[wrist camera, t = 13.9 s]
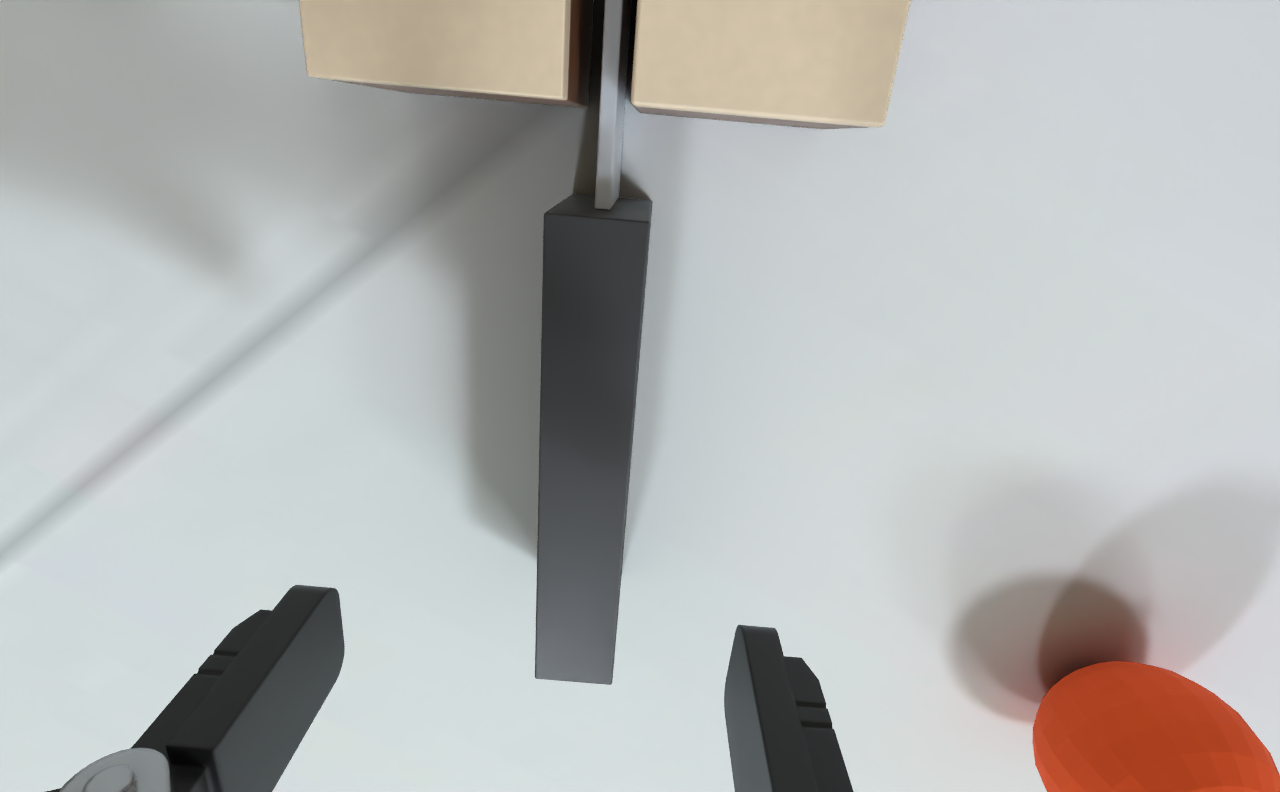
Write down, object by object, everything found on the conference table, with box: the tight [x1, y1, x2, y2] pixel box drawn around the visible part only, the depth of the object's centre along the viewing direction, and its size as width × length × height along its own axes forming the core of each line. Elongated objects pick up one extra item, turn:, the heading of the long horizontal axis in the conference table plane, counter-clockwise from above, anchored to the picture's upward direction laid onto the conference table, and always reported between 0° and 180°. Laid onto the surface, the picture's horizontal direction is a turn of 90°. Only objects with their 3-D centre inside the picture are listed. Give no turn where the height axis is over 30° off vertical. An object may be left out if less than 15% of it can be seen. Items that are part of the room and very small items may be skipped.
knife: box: [535, 0, 652, 685], centre depth 17 cm, size 23×2×5 cm, turn 176°
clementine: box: [1033, 661, 1280, 792], centre depth 22 cm, size 8×7×7 cm
